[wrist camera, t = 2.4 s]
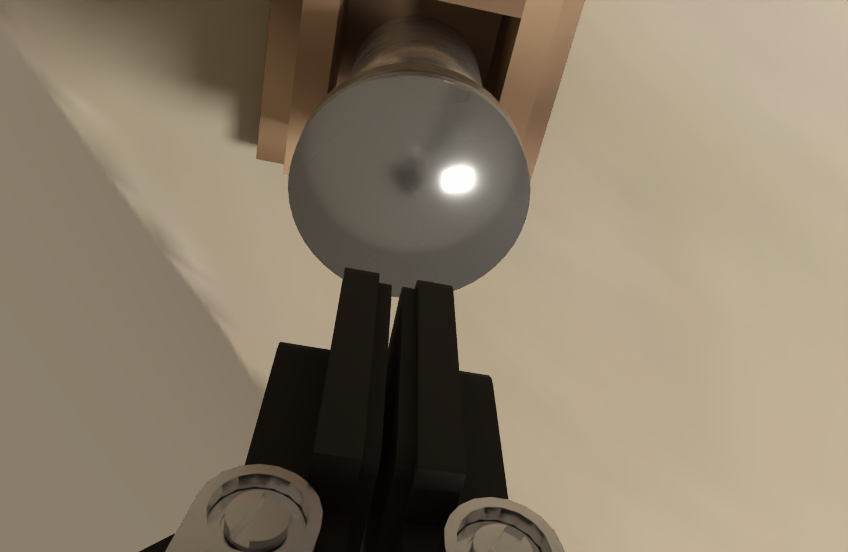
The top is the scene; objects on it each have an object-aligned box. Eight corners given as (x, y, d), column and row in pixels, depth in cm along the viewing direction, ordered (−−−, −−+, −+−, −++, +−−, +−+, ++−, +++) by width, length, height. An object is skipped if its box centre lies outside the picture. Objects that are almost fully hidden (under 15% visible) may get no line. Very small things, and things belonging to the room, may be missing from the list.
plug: (345, -24, 21) (303, 52, 14) (519, 13, 21) (560, 105, 15) (321, 142, 23) (276, 276, 17) (477, 172, 24) (496, 314, 17)
